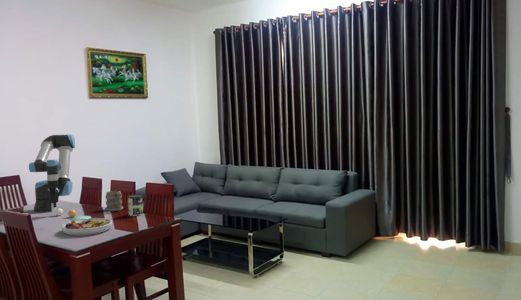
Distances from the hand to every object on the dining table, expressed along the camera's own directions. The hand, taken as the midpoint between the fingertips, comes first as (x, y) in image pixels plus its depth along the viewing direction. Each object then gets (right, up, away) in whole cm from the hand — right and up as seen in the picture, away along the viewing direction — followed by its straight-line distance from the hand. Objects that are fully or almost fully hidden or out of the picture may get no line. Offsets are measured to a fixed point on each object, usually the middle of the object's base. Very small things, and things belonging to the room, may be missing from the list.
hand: (54, 211), depth 321 cm
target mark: (+24, -3, -10) cm, 27 cm away
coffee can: (+62, -2, -1) cm, 62 cm away
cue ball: (+4, 0, 0) cm, 4 cm away
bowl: (+44, -6, -46) cm, 63 cm away
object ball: (+16, 0, -7) cm, 18 cm away
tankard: (+41, -1, +17) cm, 44 cm away
